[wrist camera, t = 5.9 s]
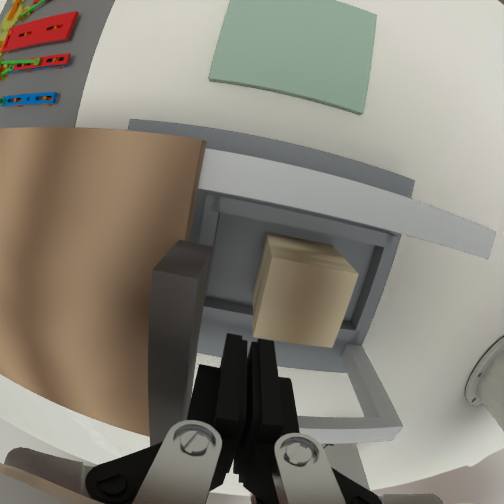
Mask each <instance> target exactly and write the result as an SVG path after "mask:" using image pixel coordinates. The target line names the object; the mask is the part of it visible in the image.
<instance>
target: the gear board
mask: <svg viewBox="0 0 504 504" xmlns="http://www.w3.org/2000/svg"><path fill="white" fill-rule="evenodd" d="M114 2H115V0H7V2H6V4H5V6H4V8H3V10H2V12H1V14H0V128H23V127H73V128H75V124H76V119H77V114H78V110H79V106H80V101H81V97H82V93H83V90H84V86H85V82H86V79H87V75H88V72H89V68H90V65H91V62H92V59H93V56H94V53H95V50H96V47H97V44H98V41H99V38H100V36H101V33H102V30H103V28H104V25H105V23H106V20H107V18H108V15H109V13H110V11H111V8H112V6H113V4H114Z"/></svg>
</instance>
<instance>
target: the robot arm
mask: <svg viewBox="0 0 504 504" xmlns="http://www.w3.org/2000/svg"><path fill="white" fill-rule="evenodd" d="M247 345H248V341H247V340H242V335H236V334H230V333H227V335H226V340H225V345H224V350H223V355H222V360H221V365H220V368H217V367H211V366H206V365H201V364H199V367H198V372H197V376H196V380H195V385H194V389H193V393H192V398H191V402H190V406H189V411H188V415H187V420H185V421H182V422H178V423H177V424H175V425H173V426H172V427H171V429H170V430H169V431H168V433H167V435H166V437H165V439H164V441H163V442H161V443H158V444H156V445H153V446H151V447H148V448H146V449H143V450H140V451H138V452H135V453H132V454H129V455H127V456H124V457H121V458H118V459H115V460H112V461H109V462H106V463H103V464H100V465H98V466H96V467H91V466H86V465H84V464H83V462H78V461H73V460H69V459H65V458H60V457H56V456H53V455H49V454H45V453H41V452H38V451H35V450H31V449H28V448H22V447H19V448H15V449H13V450H11V451H10V452H9V453H8V455H7V457H6V459H5V463H4V464H1V463H0V504H206V501H207V498H208V495H209V492H210V491H211V490H213V489H215V488H216V487H218V486H220V485H222V484H223V481H224V479H225V476H226V473H229V471H230V468H231V465H232V462H233V459H234V466H233V473H234V474H239V482H240V483H243V486H244V487H245V488H246V489H247V490H248V491H250V492H251V493H250V497H251V503H252V504H443V501H442V500H441V499H440V498H439V497H438V496H436V495H434V494H383V495H382V496H377V495H376V494H374V493H373V492H371V491H370V490H368V489H366V488H364V487H363V486H361V485H359V484H358V483H356V482H354V481H353V480H351V479H349V478H348V477H346V476H345V475H343V474H341V473H340V472H338V471H337V470H335V469H334V468H332V467H331V466H330V464H329V461H328V459H327V456H326V454H325V451H324V449H323V447H322V446H321V444H320V443H319V442H318V441H317V440H316V439H314V438H313V437H311V436H309V435H306V434H302V433H300V430H299V424H298V418H297V412H296V406H295V400H294V394H293V388H292V382H291V379H290V378H283V377H278V370H277V362H276V353H275V345H274V341H272V340H266V339H258V340H257V342H253V341H252V342H251V346H250V349H249V353H248V357H247ZM465 396H466V399H467V400H468V402H469V403H470V404H471V405H474V406H478V405H482V404H484V405H485V406H486V408H487V409H488V410H489V412H490V413H491V414H492V416H493V417H494V419H495V420H496V421H497V423H498V424H499V425H500V427H501V428H502V430H503V431H504V337H503V338H502V339H500V340H499V341H498V342H497V343H496V344H494V345H493V346H492V347H491V348H490V350H489V351H488V352H487V353H486V354H485V355H484V356H483V358H482V359H481V360H480V362H479V363H478V365H477V366H476V368H475V369H474V371H473V373H472V375H471V377H470V379H469V381H468V384H467V386H466V391H465ZM457 504H478V503H457Z"/></svg>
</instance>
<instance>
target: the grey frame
mask: <svg viewBox="0 0 504 504" xmlns="http://www.w3.org/2000/svg"><path fill="white" fill-rule="evenodd" d="M128 131H138V132H148V133H158V134H166V135H174V136H182V137H189V138H196V139H202V140H205V141H207V143H206V148H205V153H204V158H203V164H202V169H201V174H200V180H199V185H198V191H197V197H196V203H195V209H194V215H193V221H192V228H191V234H190V241H189V242H193V243H198V244H203V245H209V246H213V249H212V255H211V261H210V267H209V273H208V279H207V286H206V292H205V299H204V305H203V312H202V319H201V326H200V333H199V340H198V347H197V353H202V354H207V355H212V356H217V357H222V355H223V350H224V345H225V340H226V335H227V333H230V334H236V335H242V340H247V341H248V345H247V357H248V353H249V349H250V346H251V342H252V341H253V342H257V340H258V339H262V338H256V337H253V291H254V287H255V283H256V278H257V274H258V269H259V265H260V260H261V256H262V251H263V247H264V242H265V238H266V233H267V232H271V233H276V234H281V235H286V236H291V237H296V238H300V239H305V240H310V241H315V242H319V243H324V244H329V245H333V246H334V248H335V249H336V250H337V251H338V252H339V253H340V254H341V255H342V256H343V257H344V258H345V259H346V261H347V262H348V263H349V264H350V265H351V266H352V267H353V268H354V269H355V270H356V272H357V273H358V274H359V275H358V278H357V281H356V284H355V287H354V290H353V293H352V296H351V299H350V302H349V305H348V307H347V310H346V313H345V316H344V319H343V321H342V324H341V327H340V329H339V332H338V335H337V337H336V340H335V342H334V345H333V347H332V348H329V347H320V346H312V345H304V344H296V343H289V342H282V341H275V340H272V341H274V345H275V353H276V362H277V366H280V367H288V368H297V369H306V370H316V371H327V372H339V373H348V376H349V378H350V381H351V383H352V385H353V388H354V390H355V393H356V395H357V398H358V400H359V403H360V406H361V408H362V411H363V413H364V416H365V418H333V417H308V416H297V418H298V424H299V430H300V433H302V434H306V435H309V436H311V437H313V438H314V439H316V440H317V441H318V442H319V443H320V444H339V443H364V442H379V441H390V440H393V439H394V438H395V436H396V435H397V434H398V432H399V431H400V430H401V428H402V427H403V425H402V423H401V421H400V419H399V417H398V415H397V413H396V411H395V409H394V407H393V405H392V403H391V401H390V399H389V397H388V395H387V393H386V391H385V389H384V387H383V385H382V383H381V381H380V379H379V377H378V375H377V374H376V372H375V370H374V368H373V366H372V364H371V362H370V360H369V358H368V357H367V355H366V353H365V351H364V349H363V347H362V343H363V341H364V338H365V336H366V334H367V331H368V329H369V326H370V324H371V321H372V319H373V316H374V314H375V311H376V309H377V306H378V303H379V301H380V298H381V295H382V292H383V290H384V287H385V284H386V281H387V278H388V275H389V272H390V269H391V266H392V263H393V260H394V257H395V254H396V250H397V247H398V244H399V240H400V237H401V234H405V235H409V236H412V237H416V238H419V239H423V240H426V241H430V242H433V243H437V244H440V245H443V246H447V247H450V248H453V249H457V250H460V251H463V252H466V253H469V254H473V255H476V256H479V257H482V258H485V259H488V258H489V255H490V251H491V248H492V245H493V241H494V238H495V234H496V231H494V230H492V229H489V228H487V227H485V226H482V225H480V224H477V223H475V222H472V221H470V220H468V219H465V218H463V217H460V216H457V215H455V214H452V213H450V212H447V211H444V210H442V209H439V208H436V207H433V206H431V205H428V204H425V203H422V202H419V201H416V200H414V199H411V195H412V191H413V187H414V182H415V180H412V179H410V178H407V177H404V176H401V175H398V174H396V173H393V172H390V171H387V170H384V169H381V168H378V167H375V166H371V165H368V164H365V163H362V162H358V161H355V160H352V159H348V158H345V157H341V156H338V155H334V154H331V153H327V152H323V151H320V150H316V149H312V148H308V147H304V146H300V145H295V144H291V143H287V142H282V141H278V140H273V139H269V138H264V137H259V136H254V135H249V134H243V133H238V132H232V131H226V130H220V129H214V128H207V127H201V126H193V125H186V124H178V123H169V122H160V121H149V120H138V119H130V122H129V127H128ZM266 340H269V339H266Z"/></svg>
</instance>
